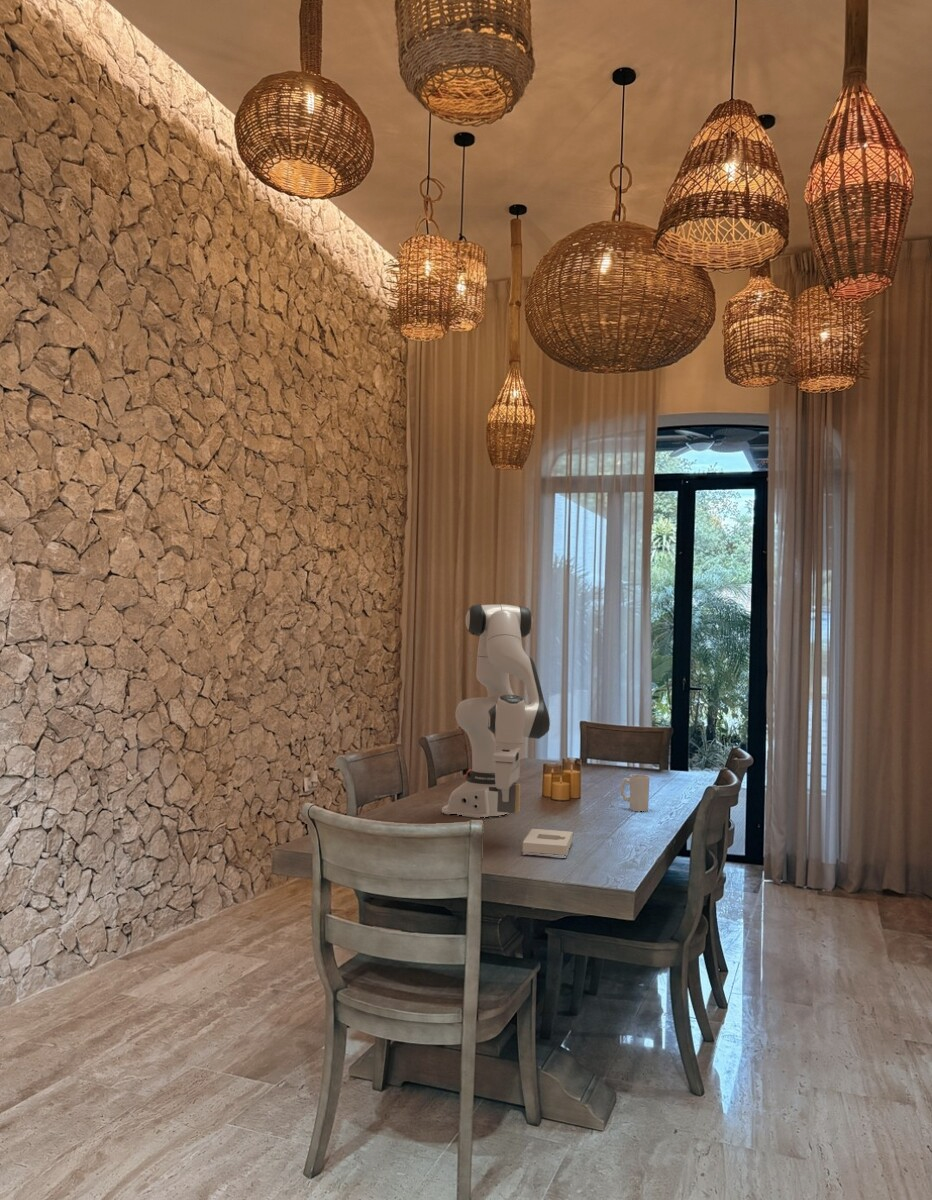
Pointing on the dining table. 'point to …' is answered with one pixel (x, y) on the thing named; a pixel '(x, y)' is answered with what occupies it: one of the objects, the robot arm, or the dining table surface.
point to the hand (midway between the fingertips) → (507, 799)
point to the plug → (514, 799)
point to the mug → (637, 792)
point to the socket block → (548, 842)
